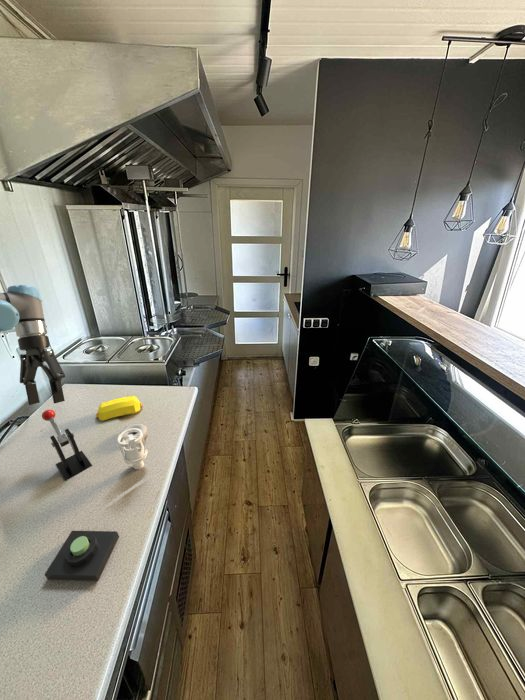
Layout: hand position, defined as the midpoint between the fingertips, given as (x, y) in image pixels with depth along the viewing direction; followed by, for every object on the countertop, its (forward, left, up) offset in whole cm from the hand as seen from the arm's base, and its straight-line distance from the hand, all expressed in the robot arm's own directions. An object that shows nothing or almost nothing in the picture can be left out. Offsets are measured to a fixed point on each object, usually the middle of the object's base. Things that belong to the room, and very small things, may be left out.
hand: (46, 403), depth 90 cm
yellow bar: (+7, +23, -23) cm, 33 cm away
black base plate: (+25, -32, -23) cm, 46 cm away
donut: (+19, +9, -23) cm, 31 cm away
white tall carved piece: (+27, -5, -23) cm, 36 cm away
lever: (+1, -1, -10) cm, 10 cm away
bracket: (+5, -5, -23) cm, 24 cm away
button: (+25, -32, -19) cm, 45 cm away
